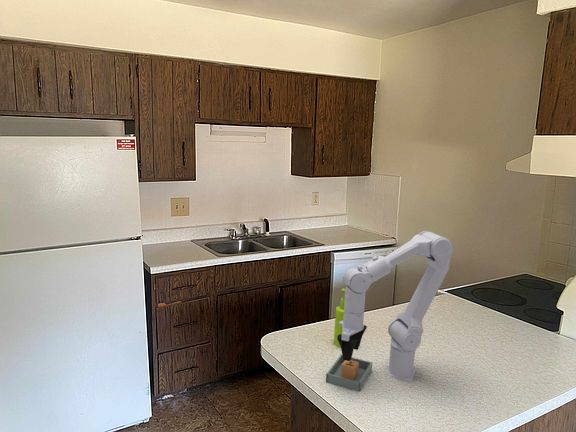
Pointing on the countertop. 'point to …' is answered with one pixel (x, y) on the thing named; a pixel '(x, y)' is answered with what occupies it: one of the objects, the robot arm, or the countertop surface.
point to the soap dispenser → (339, 318)
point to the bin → (357, 384)
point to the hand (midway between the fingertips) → (350, 354)
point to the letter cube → (350, 369)
